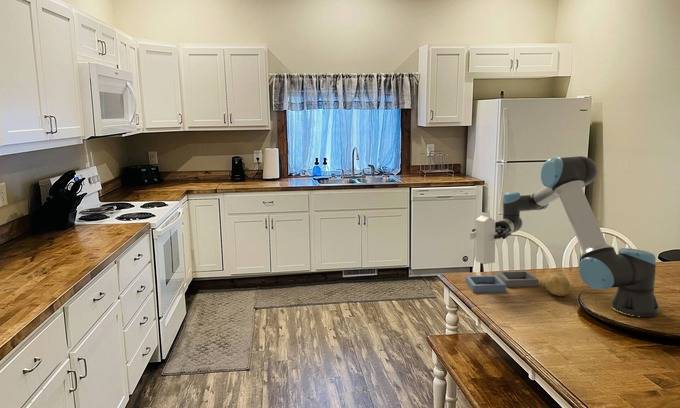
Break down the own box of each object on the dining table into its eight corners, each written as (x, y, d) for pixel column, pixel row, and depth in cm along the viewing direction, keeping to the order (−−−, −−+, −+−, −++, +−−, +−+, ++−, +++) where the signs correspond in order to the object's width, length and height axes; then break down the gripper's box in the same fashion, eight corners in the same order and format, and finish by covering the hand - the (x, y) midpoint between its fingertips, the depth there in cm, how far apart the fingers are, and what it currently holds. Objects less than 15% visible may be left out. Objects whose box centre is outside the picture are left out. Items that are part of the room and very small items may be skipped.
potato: (540, 297, 197) (540, 275, 196) (549, 287, 208) (550, 266, 207) (566, 301, 191) (567, 278, 189) (574, 291, 202) (575, 269, 201)
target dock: (505, 291, 205) (505, 284, 205) (473, 292, 206) (472, 285, 206) (496, 281, 219) (496, 275, 219) (465, 282, 220) (465, 276, 219)
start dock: (538, 286, 211) (538, 279, 210) (506, 287, 211) (506, 280, 211) (527, 276, 224) (527, 270, 224) (497, 277, 225) (497, 271, 225)
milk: (486, 259, 215) (487, 211, 212) (495, 262, 209) (495, 213, 206) (475, 261, 213) (475, 212, 210) (483, 264, 207) (483, 214, 204)
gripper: (524, 238, 216) (503, 248, 199) (481, 233, 230) (458, 242, 213) (525, 222, 215) (503, 231, 198) (481, 218, 229) (458, 226, 212)
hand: (480, 237), depth 206 cm, fingers closed on milk, 8 cm apart
